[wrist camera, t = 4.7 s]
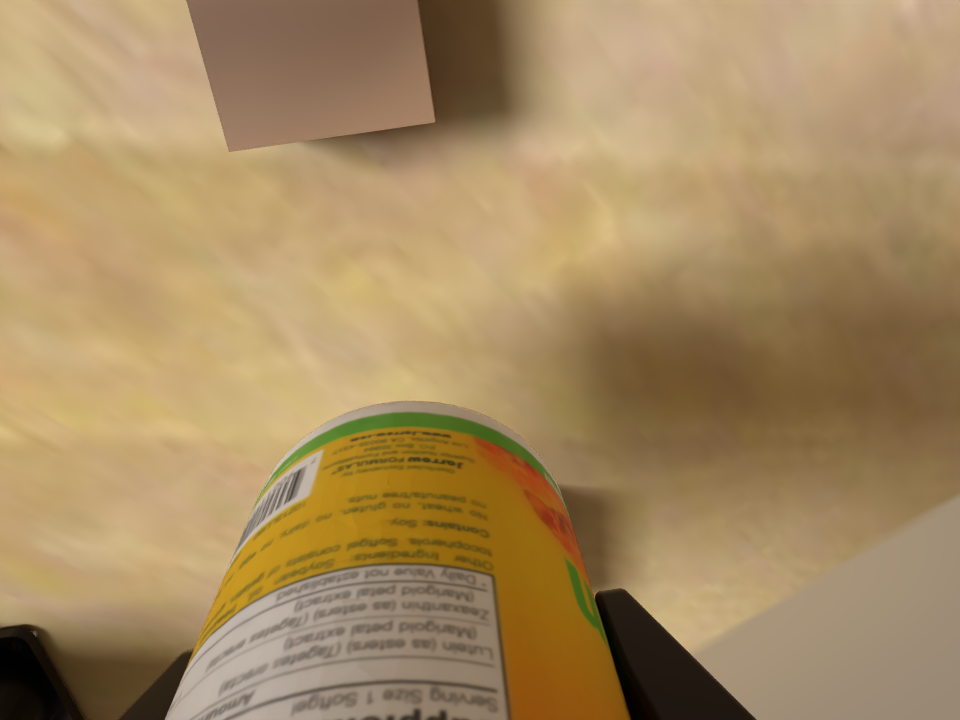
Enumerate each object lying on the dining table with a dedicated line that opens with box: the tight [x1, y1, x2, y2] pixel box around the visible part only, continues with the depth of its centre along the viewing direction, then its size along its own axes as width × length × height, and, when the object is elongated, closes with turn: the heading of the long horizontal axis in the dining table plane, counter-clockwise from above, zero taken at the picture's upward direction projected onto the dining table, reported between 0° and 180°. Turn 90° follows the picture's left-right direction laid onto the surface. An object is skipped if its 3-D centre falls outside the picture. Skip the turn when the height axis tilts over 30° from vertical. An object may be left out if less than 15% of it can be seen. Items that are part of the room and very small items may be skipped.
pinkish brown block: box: [186, 0, 435, 152], centre depth 15 cm, size 4×4×4 cm
